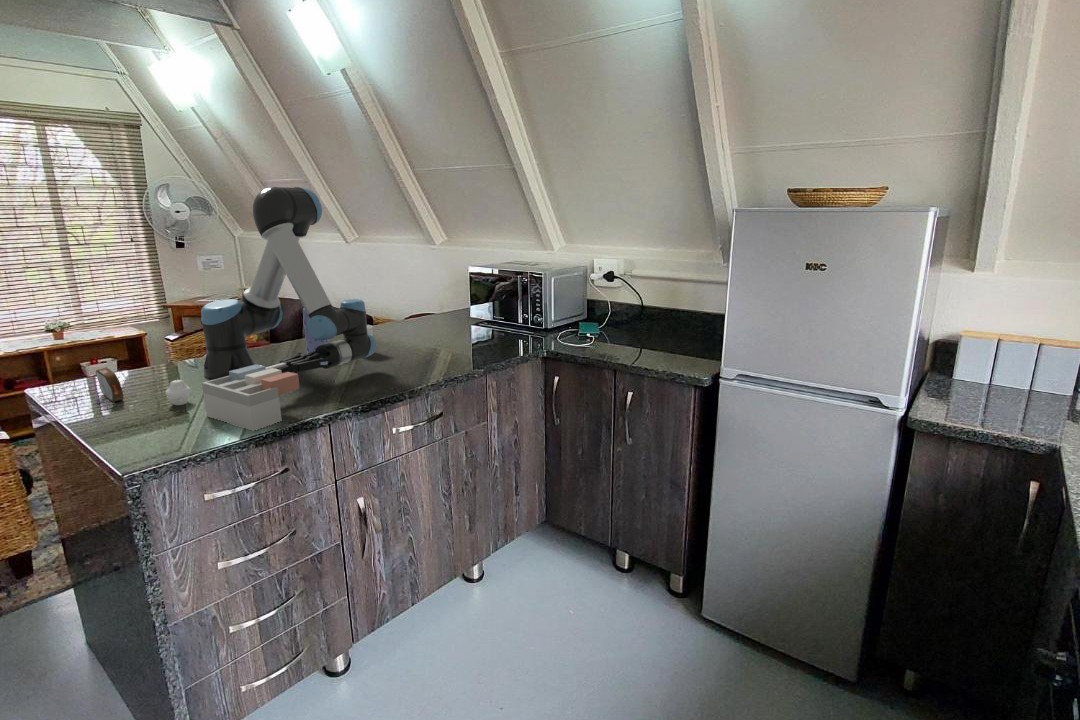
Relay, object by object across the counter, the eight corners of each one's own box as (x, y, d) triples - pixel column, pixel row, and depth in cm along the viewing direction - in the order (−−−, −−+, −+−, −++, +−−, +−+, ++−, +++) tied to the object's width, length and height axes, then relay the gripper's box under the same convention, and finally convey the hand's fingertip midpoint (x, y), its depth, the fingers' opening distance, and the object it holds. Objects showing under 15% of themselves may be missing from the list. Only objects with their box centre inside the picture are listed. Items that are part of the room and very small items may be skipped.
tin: (126, 402, 165) (120, 374, 163) (112, 405, 163) (106, 376, 161) (111, 391, 175) (105, 364, 173) (98, 394, 173) (92, 366, 170)
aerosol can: (314, 356, 213) (308, 302, 207) (302, 353, 217) (296, 300, 212) (333, 352, 219) (328, 299, 213) (321, 349, 223) (316, 297, 218)
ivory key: (246, 389, 155) (244, 375, 153) (273, 381, 161) (272, 367, 160) (255, 392, 153) (253, 377, 151) (283, 384, 159) (281, 370, 158)
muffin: (197, 399, 167) (193, 376, 165) (184, 407, 161) (180, 383, 160) (176, 399, 168) (172, 376, 166) (162, 407, 162) (158, 382, 160)
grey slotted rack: (207, 416, 155) (201, 382, 152) (235, 407, 161) (231, 375, 159) (253, 431, 145) (248, 395, 142) (281, 421, 151) (277, 387, 149)
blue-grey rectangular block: (231, 385, 158) (228, 371, 157) (258, 378, 165) (256, 364, 164) (239, 387, 156) (237, 373, 155) (267, 380, 163) (265, 366, 162)
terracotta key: (262, 394, 151) (261, 379, 150) (290, 386, 158) (288, 371, 157) (272, 396, 149) (270, 381, 148) (299, 388, 156) (298, 374, 155)
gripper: (348, 369, 181) (281, 389, 161) (319, 363, 187) (252, 382, 168) (346, 345, 179) (277, 363, 159) (317, 340, 185) (248, 357, 166)
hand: (264, 373), depth 164 cm, fingers closed
